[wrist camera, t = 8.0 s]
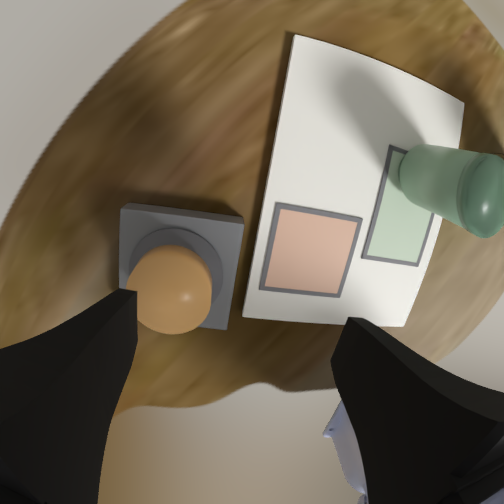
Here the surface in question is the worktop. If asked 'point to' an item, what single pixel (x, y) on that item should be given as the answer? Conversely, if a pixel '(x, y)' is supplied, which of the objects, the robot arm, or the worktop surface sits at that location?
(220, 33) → the worktop surface
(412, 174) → the green cylinder
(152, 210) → the button pad
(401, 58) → the worktop surface
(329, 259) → the picture card
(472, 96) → the worktop surface
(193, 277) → the button
